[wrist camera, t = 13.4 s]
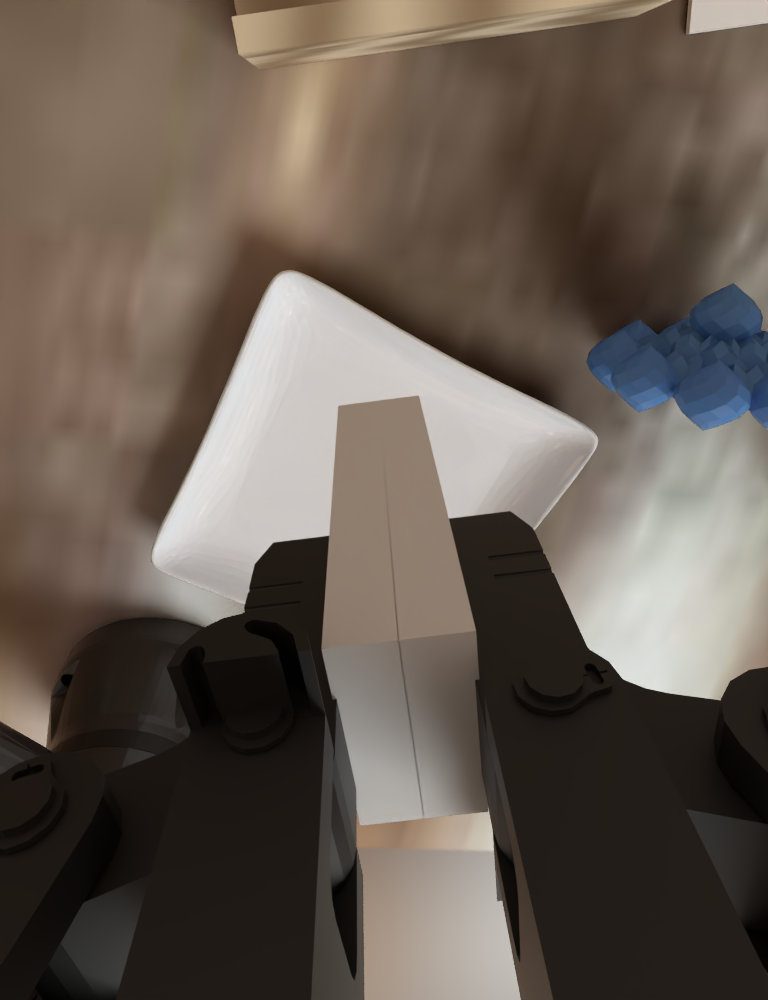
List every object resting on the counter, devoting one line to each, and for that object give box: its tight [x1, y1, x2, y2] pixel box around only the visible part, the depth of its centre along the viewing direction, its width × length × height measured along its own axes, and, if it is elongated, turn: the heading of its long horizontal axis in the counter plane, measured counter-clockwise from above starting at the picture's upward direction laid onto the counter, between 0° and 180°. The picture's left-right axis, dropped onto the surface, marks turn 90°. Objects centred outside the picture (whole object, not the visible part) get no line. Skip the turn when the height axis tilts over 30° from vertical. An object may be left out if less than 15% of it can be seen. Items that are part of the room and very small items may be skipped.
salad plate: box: [151, 270, 598, 604], centre depth 41 cm, size 21×21×3 cm
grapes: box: [586, 283, 768, 430], centre depth 33 cm, size 12×7×12 cm, turn 91°
